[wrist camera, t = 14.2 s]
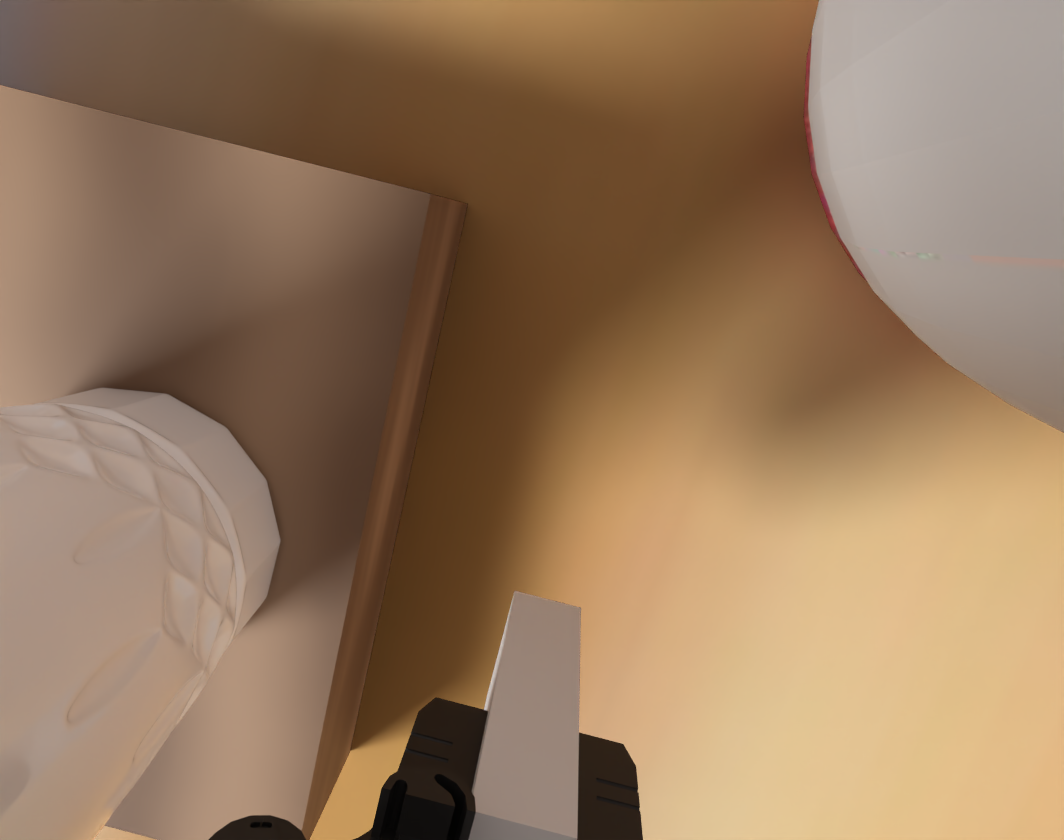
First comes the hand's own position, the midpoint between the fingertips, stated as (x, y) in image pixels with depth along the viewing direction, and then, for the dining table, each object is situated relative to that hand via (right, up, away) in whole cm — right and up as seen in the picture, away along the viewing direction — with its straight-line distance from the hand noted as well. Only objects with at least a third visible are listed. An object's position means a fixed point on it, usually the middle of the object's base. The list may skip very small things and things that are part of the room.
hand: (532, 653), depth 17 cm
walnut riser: (-10, +4, +6) cm, 12 cm away
